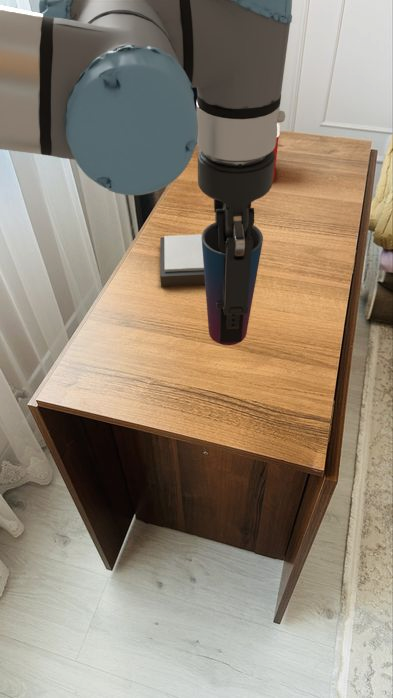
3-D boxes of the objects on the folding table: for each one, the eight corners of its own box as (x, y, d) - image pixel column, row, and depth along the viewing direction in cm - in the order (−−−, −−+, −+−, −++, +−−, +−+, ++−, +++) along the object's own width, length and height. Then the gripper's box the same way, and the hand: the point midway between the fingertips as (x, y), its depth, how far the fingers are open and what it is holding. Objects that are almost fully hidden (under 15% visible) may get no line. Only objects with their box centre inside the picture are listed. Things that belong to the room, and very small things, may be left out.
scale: (161, 286, 90) (160, 273, 88) (161, 247, 99) (160, 234, 96) (227, 283, 91) (227, 270, 88) (221, 244, 99) (221, 232, 97)
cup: (262, 326, 67) (273, 230, 56) (237, 358, 63) (244, 262, 52) (218, 307, 69) (221, 213, 58) (192, 337, 65) (189, 242, 54)
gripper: (292, 199, 41) (266, 376, 58) (262, 107, 54) (248, 274, 71) (202, 202, 41) (203, 379, 58) (193, 109, 54) (196, 276, 71)
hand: (228, 321), depth 65 cm, fingers closed on cup, 6 cm apart
